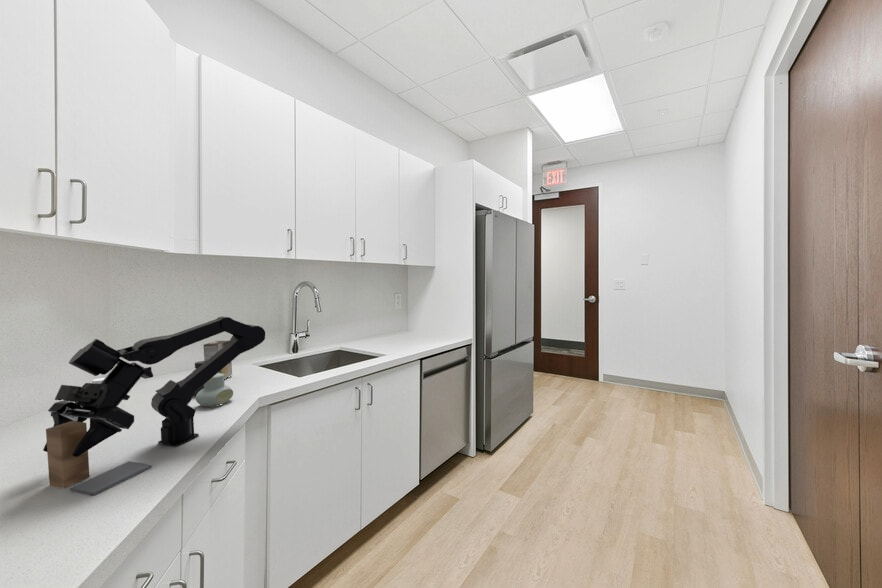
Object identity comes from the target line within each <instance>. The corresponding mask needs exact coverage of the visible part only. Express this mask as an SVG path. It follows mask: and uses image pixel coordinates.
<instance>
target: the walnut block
mask: <svg viewBox="0 0 882 588" xmlns="http://www.w3.org/2000/svg"><path fill="white" fill-rule="evenodd" d="M53 426H54V425H53ZM53 426H51V427H48V428H45V435H46V442H47V452H46V453H47V454H46V455H47V463H48V464H47V465H48V480H49V481H48V483H49V486H50V487H51V486H52V487H54V488H55V487H56V488H61V489H65V488H69V487H71V486H72V485H73V486H74V485H76V484H78V483H80V482H83V480H84V481H85V480H87V479H88V478H90V462H89V461H90V460H89V450H87V451H86V452H84V453H83V454H81V455H80V456H78V457H75V456H72V453H73V452H74V450H75V448H76V447H77V445H78V444H79V443H80V441H81V440H82V438H83V437H84V436H85V434H86V433H87V431H88V430H87V429H88V427H87V422H85V421H84V422H77V421H70V422H67V423H64V424H61V425H57V426H54V427H53Z"/></svg>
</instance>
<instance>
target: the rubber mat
mask: <svg viewBox="0 0 882 588" xmlns="http://www.w3.org/2000/svg"><path fill="white" fill-rule="evenodd" d="M151 468H152V464H148V463H144V462H137V461H131V460H129V461H126V462H123V463H122V464H120V465H119V464H118V465H117V466H115V467H113V468H110V469H107V470H106V471H104V472H102V473H99V474H97V475H95V476H93V477H91V478H90V477H89V479H88V478H87V479H85V480H84V481H80V482H78V483H76V484H74V485H73V486H69V491H71V492H75V493H79V494H85V495H88V496H96V495H98V494H100V493H103V492H104V491H105V492H106V491H107V490H109V489H111V488H113V487H115V486H116V485H118V484H121V483H123V482H125V481H127V480H129V479H131V478H133V477H135V476H137V475H139V474H141V473H143V472H145V471H147V470H150V469H151Z"/></svg>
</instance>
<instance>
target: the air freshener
mask: <svg viewBox="0 0 882 588" xmlns="http://www.w3.org/2000/svg"><path fill="white" fill-rule="evenodd" d="M233 395H234V391H233V389H232V387H230V386H228V385H225V380H224V374H222V373H217V374H216V375H215V376H213V377H212V378H211V379H210V380H209V381H207V382H206V383H205V384H204V389H202V390H200V391H199V392H198V393H197V395H196V396H195V401H196V403H197V404H199V405H200V406H204V407H210V406H211V407H218V406H217V405H220V404H223V405H224V404H225V403H227V402H228V401H230V400H231V399H232V397H233ZM220 406H221V405H220Z"/></svg>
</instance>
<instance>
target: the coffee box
mask: <svg viewBox="0 0 882 588" xmlns="http://www.w3.org/2000/svg"><path fill="white" fill-rule="evenodd" d="M229 341H230V340H215V341H212V342H208V343H204V344H203V358H204V360H203V361H207V360H208V359H210V358H211V357H212V356H213V355H215V354H216V353H217V352H218V351H219V350H221V349H222V348H223V347H224V346H226V345H227V344H228V343H229ZM232 367H233V365H232V361H231V362H230V363H229V364H228V365H226V366H225V367H224V368H223V369H222V370H221V371H219V372H218V373H222V374H224V379H225V378H227V377H229V376H231V375H232V376H233V368H232ZM229 378H230V377H229ZM227 379H228V378H227ZM225 380H226V379H225Z"/></svg>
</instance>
